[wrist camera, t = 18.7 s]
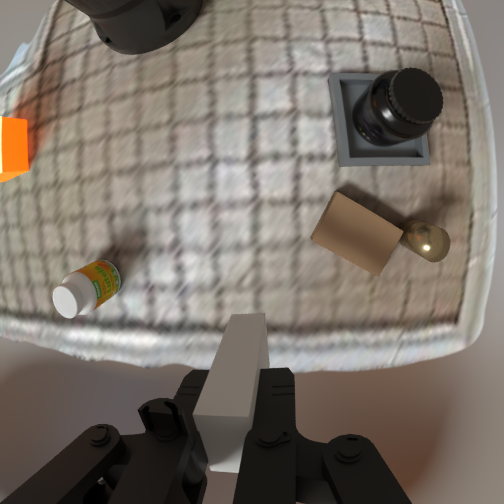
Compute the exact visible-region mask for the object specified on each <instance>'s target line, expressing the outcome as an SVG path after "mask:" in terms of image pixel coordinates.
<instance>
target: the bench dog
mask: <svg viewBox="0 0 504 504" xmlns="http://www.w3.org/2000/svg"><path fill="white" fill-rule="evenodd" d="M399 229H400V230H402V231H404V232H403V234H402V236H401V237H400V239H399V242H400V243H401V244H402V245H403V246H404V247H406V248H408V249H409V250H411V251H413V252H415V253H416V254H418V255H420V256H421V257H423V258H425V259H426V260H428V261H430V262H439V261H441V260H442V259H444V258H445V257H446V255H447V253H448V251H449V248H450V238H449V235H448V233H447V232H446V231H445V230H444V229H442V228H439V227H436V226H433V225H431V224H428V223H425V222H422V221H419V220H415V219H407V220H405V221H403V222H402V223H401V225H400V226H399Z"/></svg>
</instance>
